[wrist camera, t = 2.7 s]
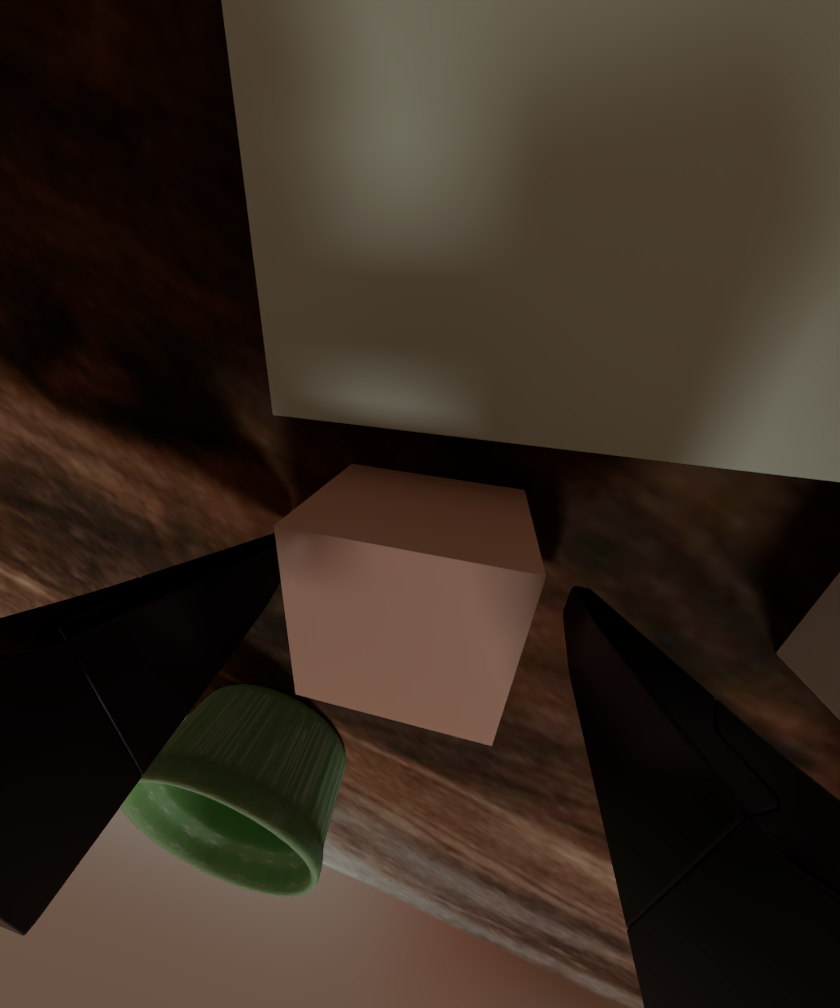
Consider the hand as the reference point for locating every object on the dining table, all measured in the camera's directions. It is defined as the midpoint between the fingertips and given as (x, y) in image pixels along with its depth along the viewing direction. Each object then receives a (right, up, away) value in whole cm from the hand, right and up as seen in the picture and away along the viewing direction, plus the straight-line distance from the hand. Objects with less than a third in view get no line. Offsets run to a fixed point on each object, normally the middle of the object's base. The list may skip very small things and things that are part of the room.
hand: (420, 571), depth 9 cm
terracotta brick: (0, +1, +1) cm, 1 cm away
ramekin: (-7, -10, +8) cm, 15 cm away
